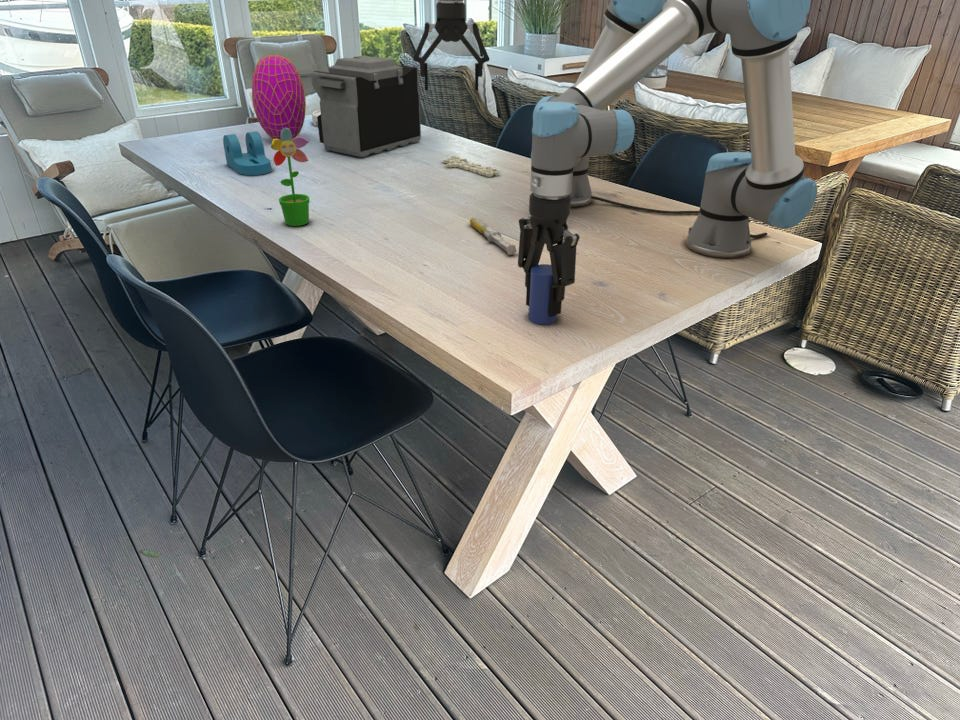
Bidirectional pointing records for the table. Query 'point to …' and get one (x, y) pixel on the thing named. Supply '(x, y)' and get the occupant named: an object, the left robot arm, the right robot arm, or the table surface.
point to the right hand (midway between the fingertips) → (543, 308)
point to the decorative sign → (470, 166)
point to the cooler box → (367, 105)
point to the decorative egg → (278, 96)
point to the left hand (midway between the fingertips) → (451, 89)
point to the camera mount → (246, 154)
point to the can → (540, 294)
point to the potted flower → (291, 178)
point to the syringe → (492, 235)
